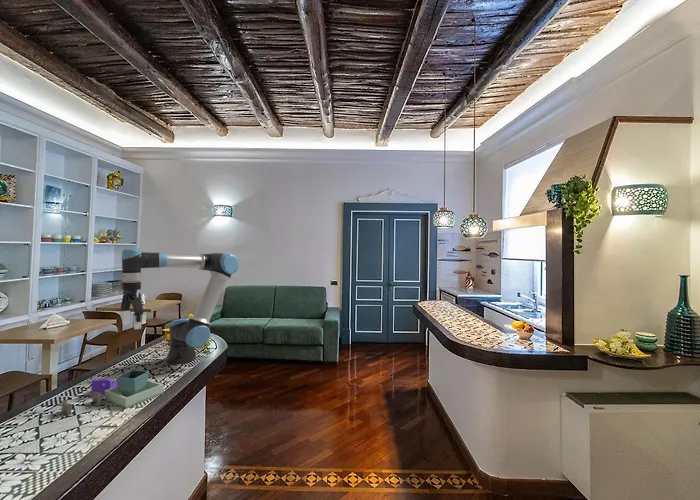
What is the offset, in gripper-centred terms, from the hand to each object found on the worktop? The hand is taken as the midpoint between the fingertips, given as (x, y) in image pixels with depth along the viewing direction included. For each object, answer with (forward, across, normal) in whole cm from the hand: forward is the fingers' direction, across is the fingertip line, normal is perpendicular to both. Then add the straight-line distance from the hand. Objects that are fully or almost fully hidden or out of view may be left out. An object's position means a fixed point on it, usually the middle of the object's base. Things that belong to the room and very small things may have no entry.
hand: (131, 326), depth 160 cm
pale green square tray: (+27, +17, -5) cm, 32 cm away
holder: (+27, +12, -22) cm, 37 cm away
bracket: (+27, -1, -10) cm, 29 cm away
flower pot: (+26, +16, -5) cm, 31 cm away
